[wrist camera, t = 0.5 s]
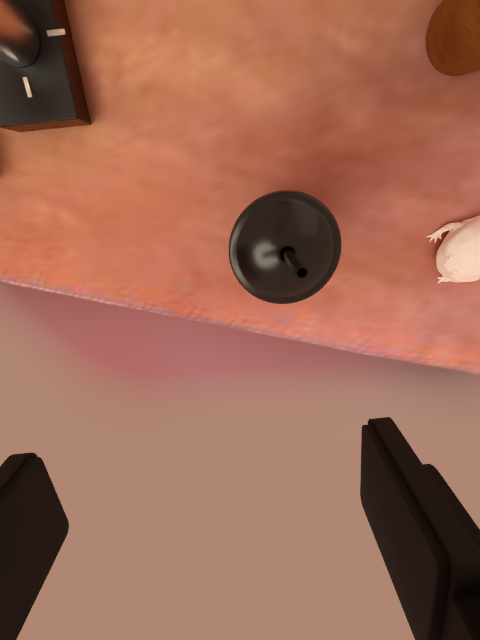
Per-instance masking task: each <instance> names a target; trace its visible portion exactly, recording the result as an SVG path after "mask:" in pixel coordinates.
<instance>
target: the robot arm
mask: <svg viewBox="0 0 480 640" xmlns="http://www.w3.org/2000/svg"><path fill="white" fill-rule="evenodd" d="M360 491H361V493H360V495H361V501H362V505H363V508H364V511H365V514H366V516H367V519H368V521H369V524H370V526H371V529H372V531H373V534H374V537H375V539H376V542H377V544H378V547H379V549H380V552H381V554H382V556H383V559H384V562H385V564H386V567H387V569H388V572H389V574H390V577H391V580H392V582H393V585H394V587H395V590H396V592H397V595H398V597H399V600H400V602H401V605H402V608H403V610H404V612H405V615H406V618H407V620H408V623H409V625H410V628H411V630H412V633H413V635H414V638H415V640H480V529H479V528H478V527H477V525H476V524H475V523H474V521H473V520H472V518H471V517H470V515H469V514H468V513H467V511H466V510H465V508H464V507H463V506H462V504H461V503H460V501H459V500H458V499H457V497H456V496H455V494H454V493H453V491H452V490H451V489H450V487H449V486H448V484H447V483H446V481H445V480H444V479H443V477H442V476H441V474H440V473H439V472H438V470H437V469H436V468H435V467H434V466H432V465H431V464H424V465H422V463H421V462H420V460H419V459H418V457H417V456H416V454H415V453H414V452H413V450H412V448H411V447H410V445H409V444H408V442H407V441H406V439H405V438H404V436H403V435H402V433H401V432H400V431H399V429H398V428H397V426H396V424H395V423H394V421H393V420H392V419H391V418H390V417H386V418H376V419H369V421H368V425H363V426H362V445H361V489H360ZM68 528H69V524H68V519H67V517H66V515H65V512H64V510H63V507H62V505H61V503H60V500H59V498H58V496H57V493H56V491H55V489H54V487H53V484H52V481H51V479H50V477H49V474H48V472H47V470H46V467H45V465H44V462H43V460H42V459H41V458H40V457H37V455H36V454H35V453H23V454H14V455H11V456H9V457H8V458H7V459H6V460H5V461H4V463H3V464H2V465H1V466H0V640H16V639H17V637H18V635H19V633H20V631H21V629H22V626H23V625H24V622H25V620H26V618H27V616H28V614H29V612H30V610H31V608H32V606H33V604H34V602H35V600H36V598H37V595H38V594H39V591H40V589H41V587H42V585H43V583H44V581H45V579H46V577H47V575H48V573H49V571H50V569H51V567H52V565H53V563H54V561H55V558H56V556H57V554H58V552H59V550H60V548H61V546H62V544H63V542H64V540H65V538H66V536H67V533H68Z"/></svg>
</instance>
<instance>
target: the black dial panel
mask: <svg viewBox="0 0 480 640" xmlns="http://www.w3.org/2000/svg"><path fill="white" fill-rule="evenodd" d="M11 1H12V2H13V3H15V4H16V5H17V6H18V7H19V8H21V9H22V10H23V11H24V12H25V13H26V14H27V15H29V17H30V18H31V19H32V21H33V22H34V24H35V26H36V28H37V31H38V34H39V39H40V48H39V52H38V55H37V57H36V59H35V60H34V61H33V62H32V63H31V64H29V65H27V66H24V67H15V66H12V65H9V64H7V63H6V62H4V61H2V60H0V127H2V128H6V129H9V130H13V131H17V132H24V131H34V130H43V129H53V128H63V127H72V126H82V125H90V124H91V121H90V117H89V112H88V108H87V103H86V99H85V94H84V90H83V85H82V81H81V76H80V71H79V67H78V62H77V58H76V53H75V49H74V44H73V40H72V35H71V31H70V26H69V22H68V17H67V12H66V8H65V3H64V0H11Z"/></svg>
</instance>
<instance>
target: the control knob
mask: <svg viewBox="0 0 480 640" xmlns="http://www.w3.org/2000/svg"><path fill="white" fill-rule="evenodd" d="M39 48H40V39H39V34H38V31H37V28H36V26H35V24H34V22H33V21H32V19H31V18H30V17H29V15H27V14H26V13H25V12H24V11H23V10H22V9H21V8H19V7H18V6H17V5H16V4H15V3H13V2H12V1H11V0H0V60H2V61H4V62H6V63H7V64H9V65H12V66H15V67H24V66H27V65H29V64H31V63H32V62H33V61H34V60H35V59H36V57H37V55H38V52H39Z"/></svg>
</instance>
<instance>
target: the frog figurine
mask: <svg viewBox="0 0 480 640" xmlns="http://www.w3.org/2000/svg"><path fill="white" fill-rule="evenodd" d="M462 222H463V223H461V222H455V223H449V224H447V225H445V226H443V227H442V228H440V229H439V230H437V231H436V232H434V233H433V234H432V235H429V236H427V237H431V239H430V241H431V240H432V239H435V243H436V240H437V238H439V239H441V240H442V237H441V234H442V233H443V232H445V231H449V233H448V234H447V236H446V237H445V239H444V240H443V242H442V244H441V245H440V247H439V249H438V251H437V255H436V266H437V269H438V271H439V272H440V273H441V274H442V277H436V278H438V279H440V280H439V281H438V282H437V283H440V282H443V281H444V282H448V281H452V282H459V283H461V282H473V281H477V280H479V279H480V215H479V216H476V217H474V218H471V219H467V220H463V221H462ZM430 241H429V242H430Z"/></svg>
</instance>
